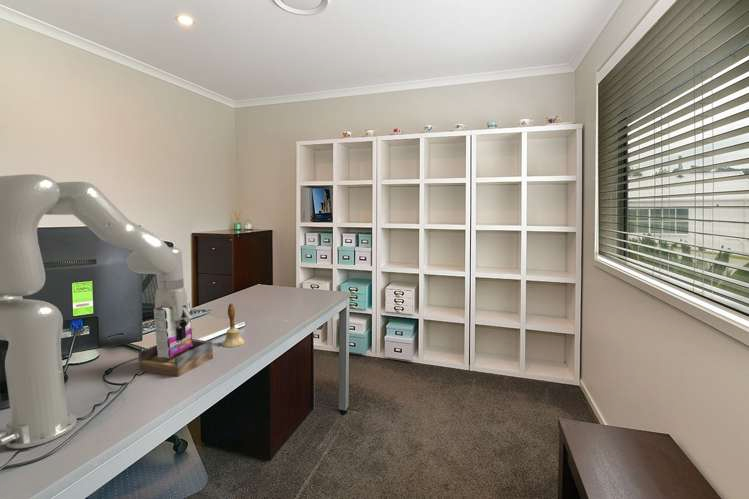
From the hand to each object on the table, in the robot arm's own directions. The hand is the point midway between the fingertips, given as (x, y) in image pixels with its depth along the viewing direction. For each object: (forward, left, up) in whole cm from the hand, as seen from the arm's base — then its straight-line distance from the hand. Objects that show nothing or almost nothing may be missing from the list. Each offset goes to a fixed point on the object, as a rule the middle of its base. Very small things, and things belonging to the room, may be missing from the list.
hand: (174, 337), depth 123 cm
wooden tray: (+1, 0, -9) cm, 9 cm away
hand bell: (+22, -5, -10) cm, 25 cm away
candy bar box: (0, 0, -5) cm, 5 cm away
